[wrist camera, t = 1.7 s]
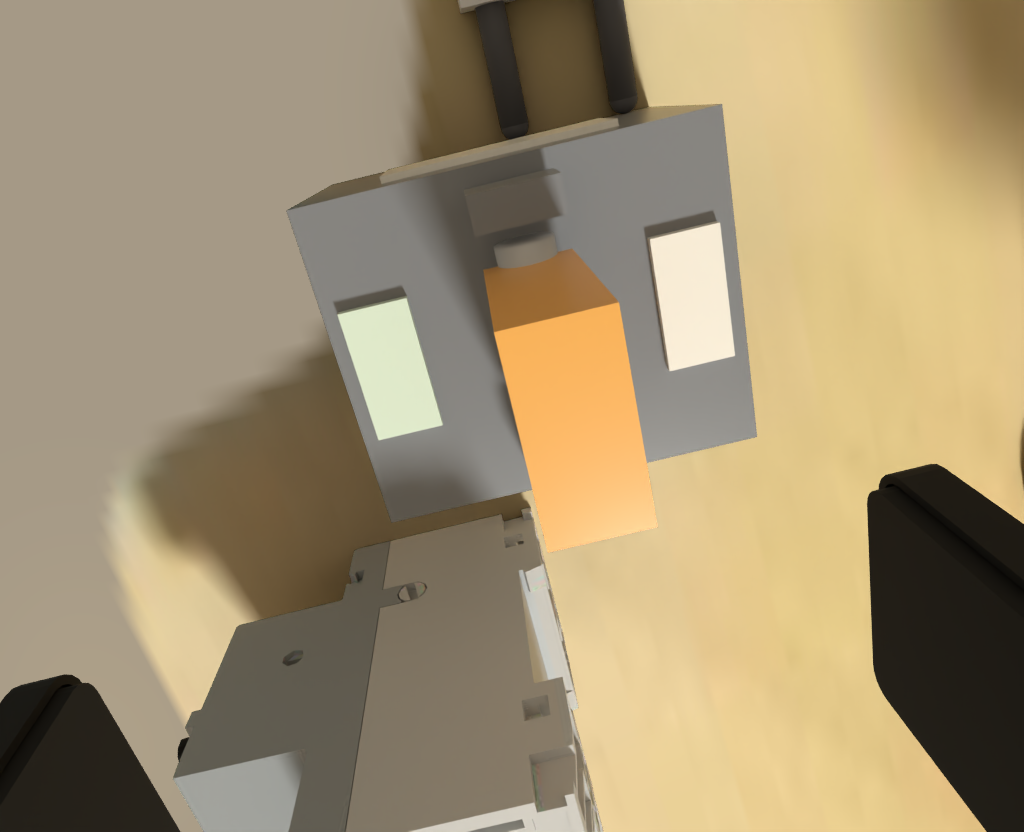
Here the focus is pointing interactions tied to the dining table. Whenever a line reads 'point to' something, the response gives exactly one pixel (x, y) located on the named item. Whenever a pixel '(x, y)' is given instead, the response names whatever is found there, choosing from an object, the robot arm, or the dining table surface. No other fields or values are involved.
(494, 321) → the lever
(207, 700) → the circuit breaker
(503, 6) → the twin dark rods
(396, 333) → the panel
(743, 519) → the dining table surface
